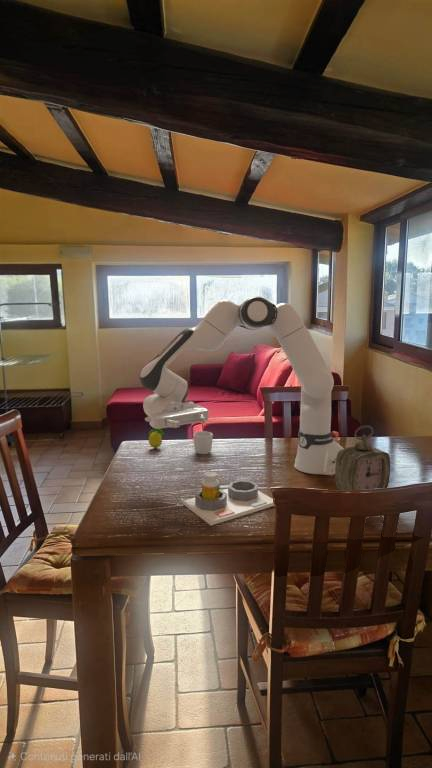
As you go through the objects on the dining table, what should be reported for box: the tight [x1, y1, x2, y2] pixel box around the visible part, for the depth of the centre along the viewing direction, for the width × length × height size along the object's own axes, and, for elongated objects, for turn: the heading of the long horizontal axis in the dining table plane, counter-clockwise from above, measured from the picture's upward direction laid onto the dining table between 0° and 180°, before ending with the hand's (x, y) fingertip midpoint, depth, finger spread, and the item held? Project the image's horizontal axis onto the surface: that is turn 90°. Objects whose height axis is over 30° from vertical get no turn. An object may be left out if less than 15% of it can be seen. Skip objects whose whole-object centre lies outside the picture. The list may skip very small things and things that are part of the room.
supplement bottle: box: [201, 471, 221, 500], centre depth 141 cm, size 5×5×10 cm
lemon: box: [148, 428, 164, 450], centre depth 195 cm, size 7×6×10 cm
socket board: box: [182, 479, 274, 526], centre depth 143 cm, size 24×16×4 cm, turn 123°
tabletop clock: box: [334, 425, 391, 491], centre depth 142 cm, size 14×9×25 cm, turn 114°
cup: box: [192, 430, 214, 455], centre depth 192 cm, size 11×8×8 cm
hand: (191, 422), depth 147 cm, fingers open, 8 cm apart
